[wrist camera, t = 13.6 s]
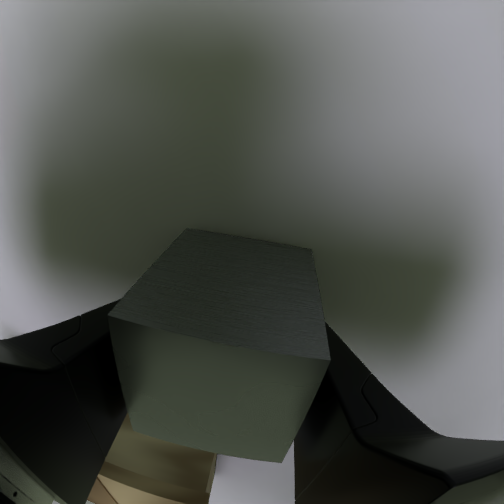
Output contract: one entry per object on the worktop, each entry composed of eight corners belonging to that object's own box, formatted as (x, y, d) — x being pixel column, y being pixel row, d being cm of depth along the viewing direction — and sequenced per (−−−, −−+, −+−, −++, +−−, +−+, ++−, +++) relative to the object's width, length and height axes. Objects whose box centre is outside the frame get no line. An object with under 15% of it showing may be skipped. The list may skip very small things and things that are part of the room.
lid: (209, 491, 9) (205, 509, 8) (205, 528, 12) (203, 538, 12) (-27, 379, 10) (-35, 389, 9) (25, 453, 13) (21, 461, 12)
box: (221, 423, 13) (205, 492, 9) (213, 477, 16) (203, 525, 13) (15, 348, 14) (-20, 386, 10) (49, 417, 17) (27, 452, 13)
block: (311, 249, 9) (331, 360, 5) (286, 346, 11) (281, 462, 6) (187, 228, 9) (107, 315, 5) (182, 327, 11) (133, 430, 6)
